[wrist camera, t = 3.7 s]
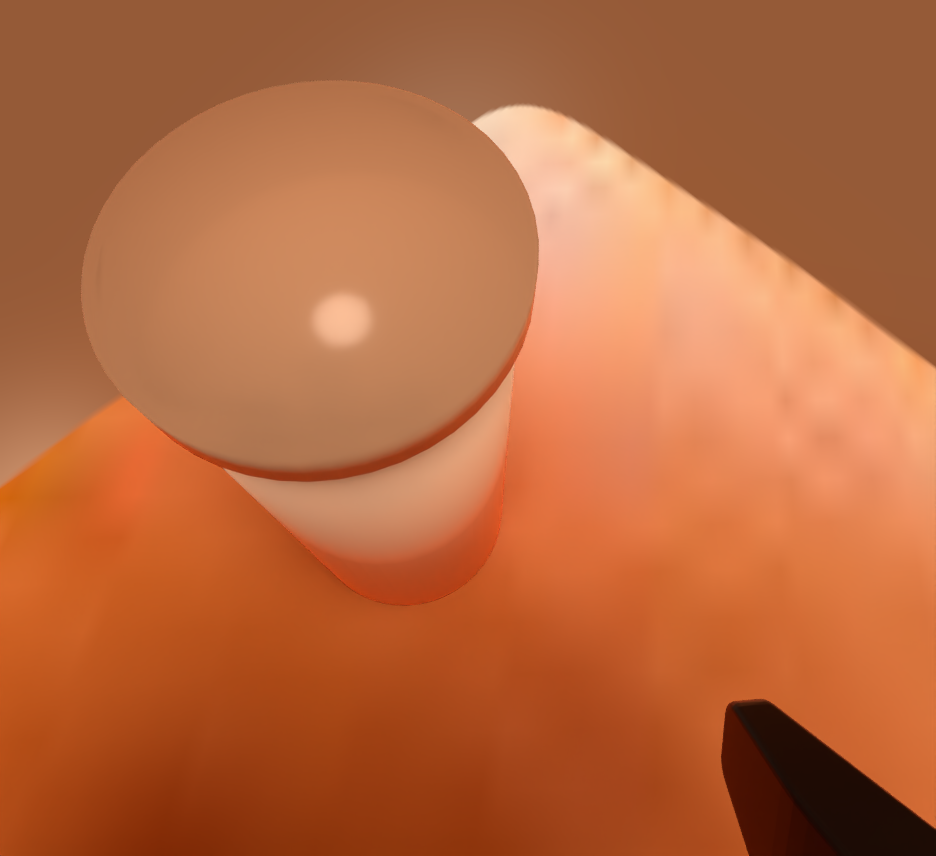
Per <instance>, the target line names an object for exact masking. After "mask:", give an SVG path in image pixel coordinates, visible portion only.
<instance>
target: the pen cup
mask: <svg viewBox="0 0 936 856" xmlns="http://www.w3.org/2000/svg"><path fill="white" fill-rule="evenodd" d="M538 253H539V239H538V233H537V226H536V220H535V215H534V212H533V208H532V205H531V202H530V199H529V196H528V193H527V191H526V189H525V187H524V185H523V183H522V181H521V179H520V177H519V175H518V173H517V171H516V170H515V169H514V167H513V166H512V164H511V163H510V161H509V160H508V159H507V157H506V156H505V154H504V153H503V152H502V151H501V150H500V149H499V148H498V147H497V145H496V144H495V143H494V142H493V141H492V140H491V139H490V138H489V137H488V136H487V135H486V134H485V133H483V132H482V131H481V130H480V129H478V128H477V127H476V126H475V125H474V124H472V123H471V122H470V121H469V120H467V119H465V118H464V117H462V116H460V115H459V114H457V113H456V112H454V111H452V110H451V109H449V108H447V107H445V106H443V105H441V104H439V103H436V102H435V101H432V100H430V99H428V98H426V97H423V96H420V95H417V94H414V93H411V92H408V91H405V90H402V89H398V88H393V87H389V86H385V85H380V84H375V83H366V82H358V81H337V80H336V81H335V80H322V81H309V82H297V83H292V84H286V85H281V86H275V87H270V88H267V89H263V90H260V91H255V92H252V93H248V94H245V95H242V96H240V97H237V98H235V99H232V100H229V101H227V102H224V103H221V104H219V105H217V106H215V107H213V108H211V109H209V110H207V111H205V112H203V113H201V114H199V115H197V116H195V117H193V118H192V119H191V120H189V121H187V122H185V123H184V124H182V125H181V126H179V127H178V128H176V129H174V130H173V131H172V132H170V133H169V134H168V135H166V136H165V137H164V138H163V139H161V140H160V141H159V142H158V143H156V144H155V145H154V146H152V147H151V148H150V149H149V150H148V151H147V152H146V153H145V154H144V155H143V156H142V157H141V158H140V159H139V160H138V161H137V162H136V163H135V164H134V165H133V166H132V167H131V169H130V170H129V171H128V172H127V173H126V174H125V176H124V177H123V178H122V180H121V181H120V182H119V183H118V184H117V186H116V187H115V189H114V190H113V192H112V194H111V195H110V197H109V198H108V200H107V202H106V203H105V204H104V206H103V208H102V210H101V212H100V214H99V217H98V219H97V221H96V223H95V225H94V227H93V229H92V233H91V236H90V239H89V243H88V246H87V249H86V252H85V258H84V264H83V271H82V277H81V294H82V295H81V304H82V310H83V316H84V321H85V327H86V331H87V334H88V336H89V339H90V342H91V345H92V347H93V351H94V353H95V355H96V357H97V359H98V360H99V362H100V364H101V366H102V368H103V369H104V371H105V373H106V375H107V376H108V378H109V379H110V380H111V381H112V383H113V384H114V385H115V386H116V388H117V389H118V390H119V391H120V393H121V394H122V395H123V396H124V398H126V399H127V400H128V401H129V402H130V403H131V404H132V405H133V406H134V407H135V408H137V409H138V410H139V411H140V412H141V413H142V414H143V415H144V416H145V417H147V418H148V419H149V420H150V421H151V422H152V423H153V424H154V425H156V426H157V427H158V428H159V429H160V430H161V431H162V432H163V433H165V434H166V435H167V436H168V437H169V438H170V439H171V440H173V441H174V442H176V443H177V444H179V445H180V446H182V447H183V448H185V449H186V450H188V451H189V452H191V453H192V454H194V455H196V456H198V457H200V458H202V459H204V460H206V461H208V462H210V463H213V464H215V465H217V466H219V467H222V468H223V469H224V470H225V471H226V472H227V473H228V474H229V475H230V476H231V477H232V478H233V479H234V480H236V481H237V482H238V483H239V484H240V485H241V486H242V487H243V488H244V489H245V490H246V491H247V492H248V493H249V494H250V495H251V496H252V497H253V498H254V499H255V500H256V501H258V502H259V503H260V504H261V505H262V506H263V507H264V508H265V509H266V510H267V511H268V512H269V513H270V514H271V515H272V516H273V517H274V518H275V519H276V520H277V521H278V522H280V523H281V524H282V525H283V526H284V527H285V528H286V529H287V530H288V531H289V532H290V533H291V534H292V535H293V536H294V537H295V538H296V539H297V540H298V541H299V542H300V543H302V544H303V545H304V546H305V547H306V548H307V549H308V550H309V551H310V552H311V553H312V554H313V555H314V556H315V557H316V558H317V559H318V560H319V561H320V562H321V563H322V564H324V565H325V566H326V567H327V568H328V569H329V570H330V571H331V572H332V573H333V574H334V575H335V576H336V577H337V578H338V579H339V580H340V581H342V582H343V583H344V584H345V585H346V586H347V587H349V588H350V589H352V590H353V591H355V592H356V593H358V594H360V595H362V596H364V597H366V598H368V599H371V600H374V601H377V602H380V603H385V604H391V605H417V604H423V603H427V602H432V601H434V600H437V599H440V598H442V597H445V596H447V595H449V594H450V593H452V592H454V591H456V590H457V589H459V588H460V587H462V586H463V585H464V584H466V583H467V582H468V581H469V580H470V579H471V578H472V577H474V576H475V575H476V573H477V572H478V571H479V570H480V569H481V567H482V566H483V565H484V564H485V562H486V560H487V559H488V557H489V556H490V554H491V552H492V550H493V547H494V545H495V543H496V540H497V537H498V533H499V529H500V523H501V515H502V504H503V492H504V481H505V470H506V458H507V447H508V435H509V424H510V412H511V401H512V389H513V378H514V366H515V361H516V359H517V357H518V355H519V352H520V350H521V348H522V346H523V343H524V340H525V337H526V334H527V331H528V328H529V325H530V322H531V316H532V310H533V304H534V297H535V289H536V281H537V273H538Z"/></svg>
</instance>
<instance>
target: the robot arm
mask: <svg viewBox="0 0 936 856" xmlns="http://www.w3.org/2000/svg"><path fill="white" fill-rule="evenodd" d="M721 762H722V770H723V775H724V779H725V782H726V785H727V789H728V792H729V795H730V798H731V801H732V804H733V807H734V810H735V813H736V817H737V820H738V823H739V826H740V829H741V832H742V835H743V838H744V842H745V845H746V848H747V851H748V854H749V856H936V829H935V828H934V827H932V826H931V825H930V824H929V823H927V822H926V821H925V820H923V819H922V818H921V817H920V816H918V815H917V814H916V813H914V812H913V811H912V810H910V809H909V808H908V807H907V806H905V805H904V804H903V803H901V802H900V801H899V800H897V799H896V798H895V797H894V796H892V795H891V794H890V793H888V792H887V791H886V790H884V789H883V788H882V787H881V786H879V785H878V784H877V783H875V782H874V781H873V780H871V779H870V778H869V777H868V776H866V775H865V774H864V773H862V772H861V771H860V770H858V769H857V768H856V767H855V766H853V765H852V764H851V763H849V762H848V761H847V760H846V759H844V758H843V757H842V756H840V755H839V754H838V753H836V752H835V751H834V750H833V749H831V748H830V747H829V746H827V745H826V744H825V743H823V742H822V741H821V740H820V739H818V738H817V737H816V736H814V735H813V734H812V733H810V732H809V731H808V730H807V729H805V728H804V727H803V726H801V725H800V724H799V723H797V722H796V721H795V720H794V719H792V718H791V717H790V716H788V715H787V714H786V713H784V712H783V711H782V710H781V709H779V708H778V707H777V706H775V705H774V704H773V703H771V702H769V701H767V700H764V699H754V700H742V701H733V702H731V703H729V704H728V706H727V708H726V712H725V721H724V732H723V743H722V754H721Z"/></svg>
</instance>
